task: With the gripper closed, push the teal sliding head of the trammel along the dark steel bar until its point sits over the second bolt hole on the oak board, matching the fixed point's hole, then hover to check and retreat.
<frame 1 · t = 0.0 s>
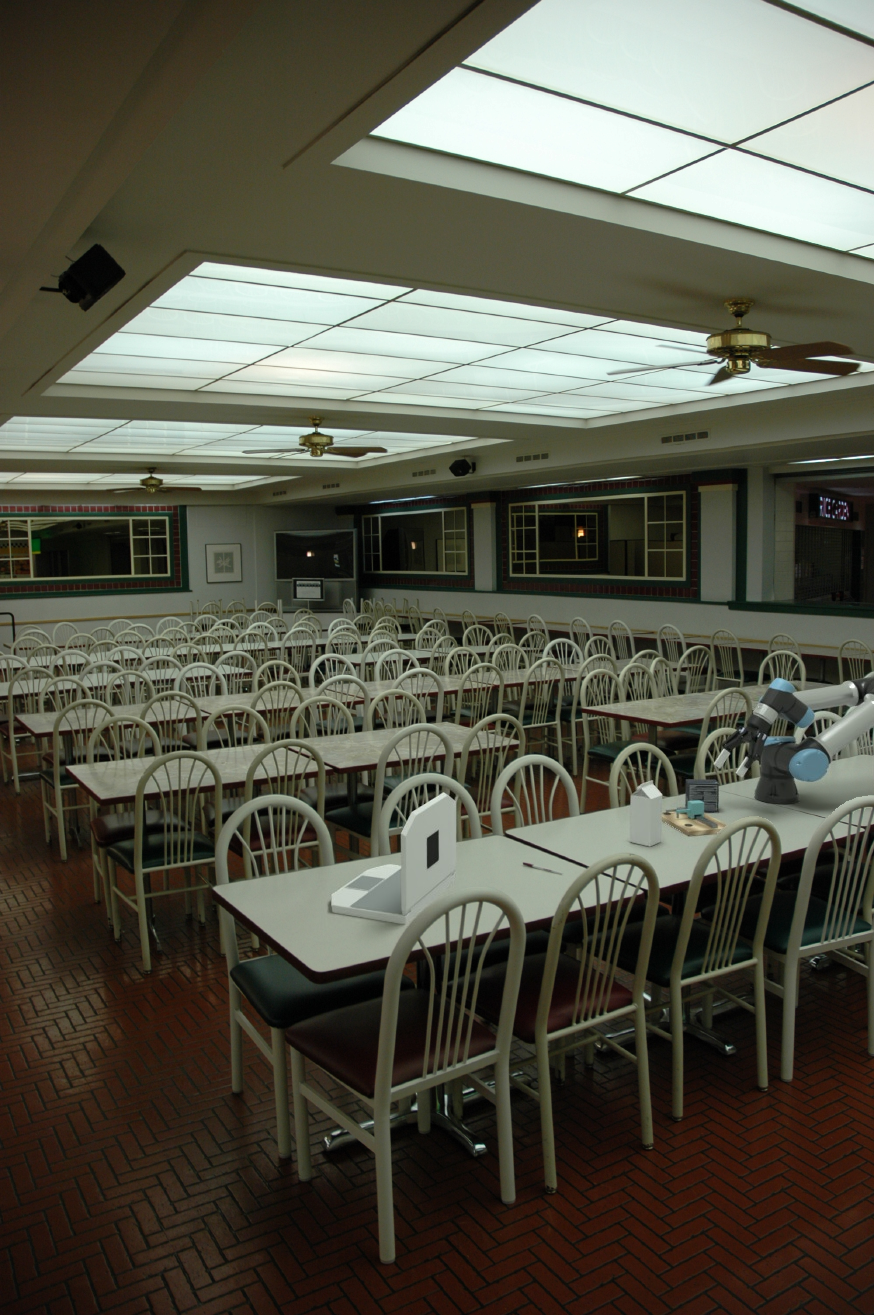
hand: (727, 770, 316), 15 cm above the table, tool tilted 35°, fingers open, 13 cm apart
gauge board: (693, 824, 306), on the table
small box: (701, 810, 324), on the table
sliding head: (689, 810, 308), point 4 cm above the table, slide at 0.0 cm
milk carton: (645, 842, 288), on the table
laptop: (391, 896, 244), on the table
beam: (691, 818, 306), on the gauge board, point 2 cm above the table
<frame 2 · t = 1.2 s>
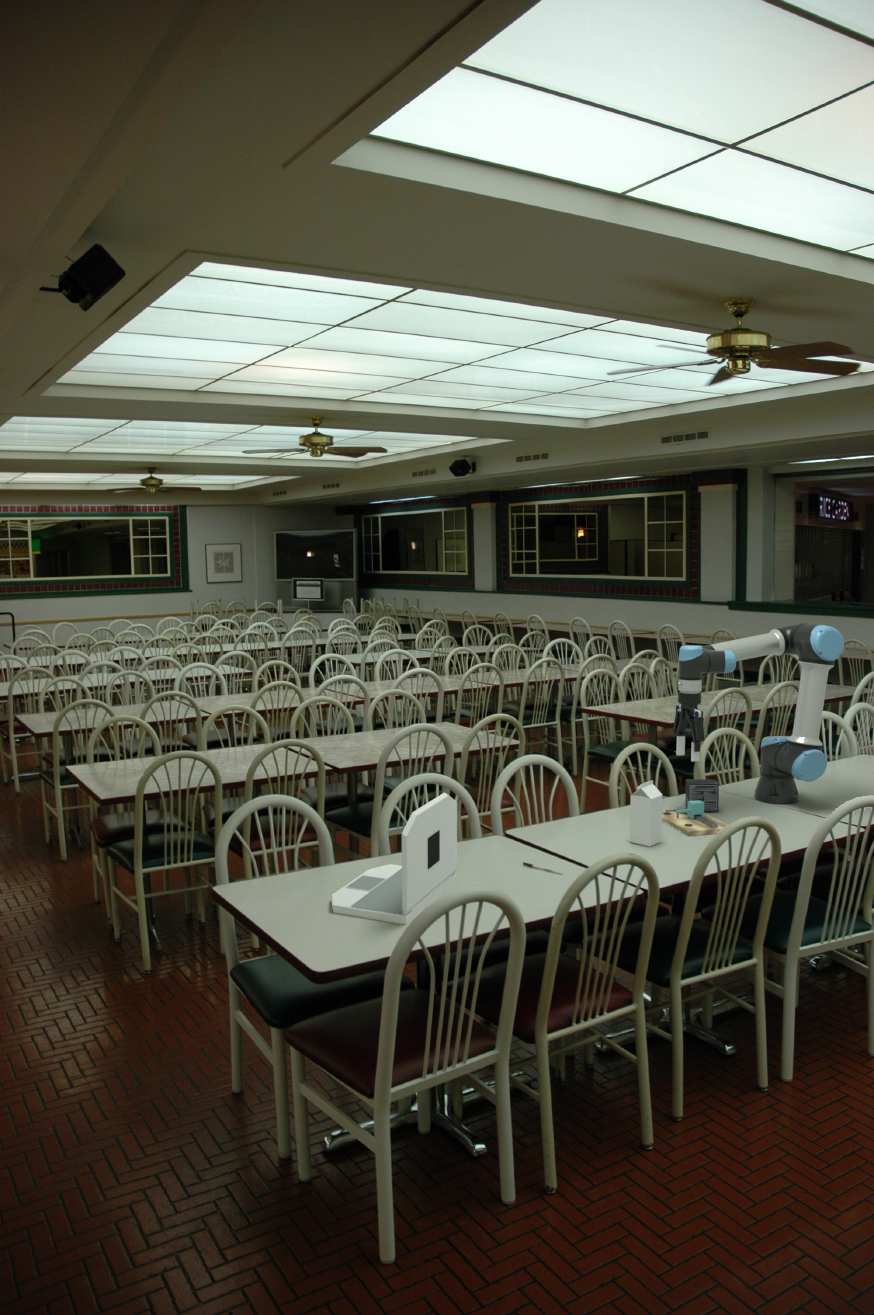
hand: (687, 758, 312), 21 cm above the table, tool pointing down, fingers open, 9 cm apart
nothing on the table moved.
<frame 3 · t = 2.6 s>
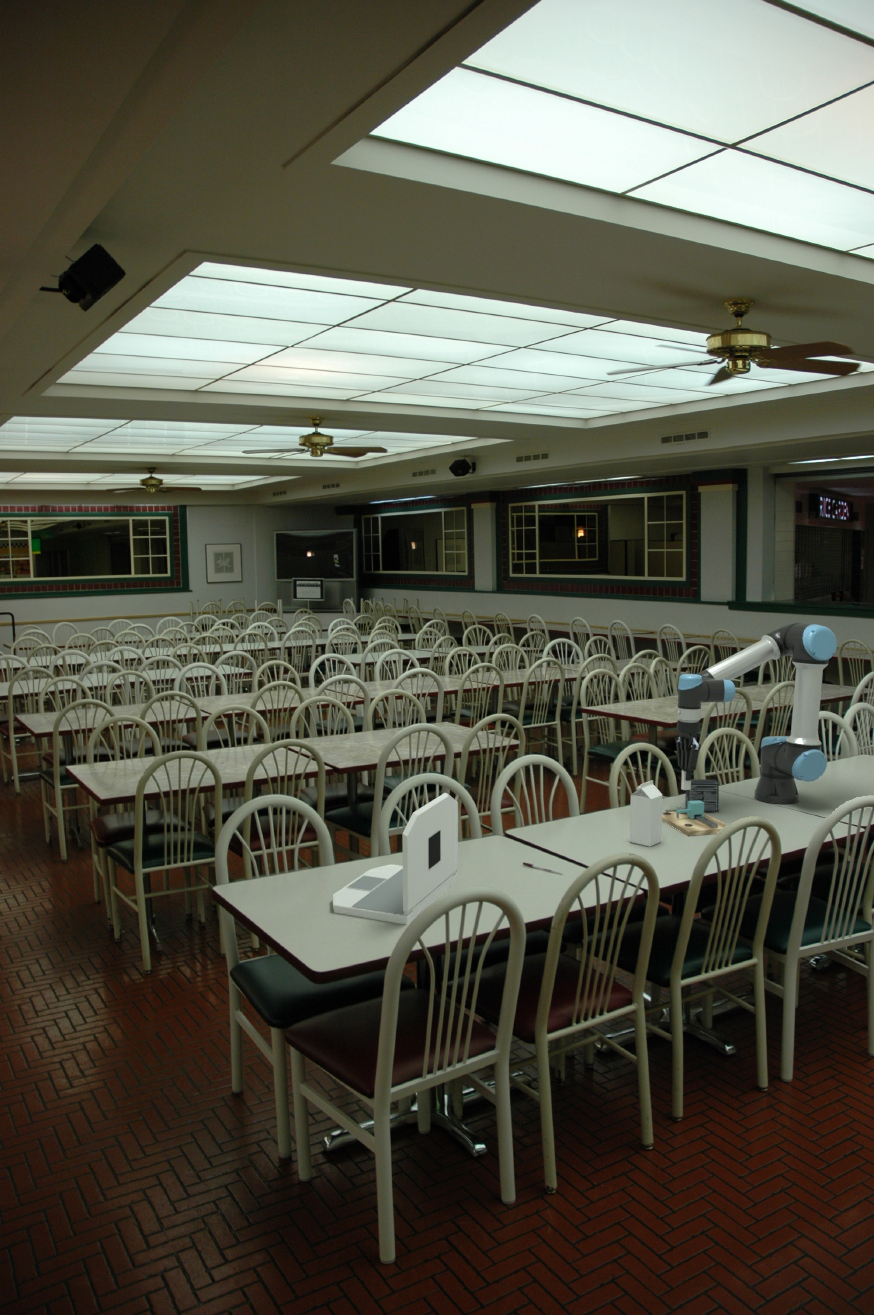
hand: (685, 789, 313), 10 cm above the table, tool pointing down, fingers closed
nothing on the table moved.
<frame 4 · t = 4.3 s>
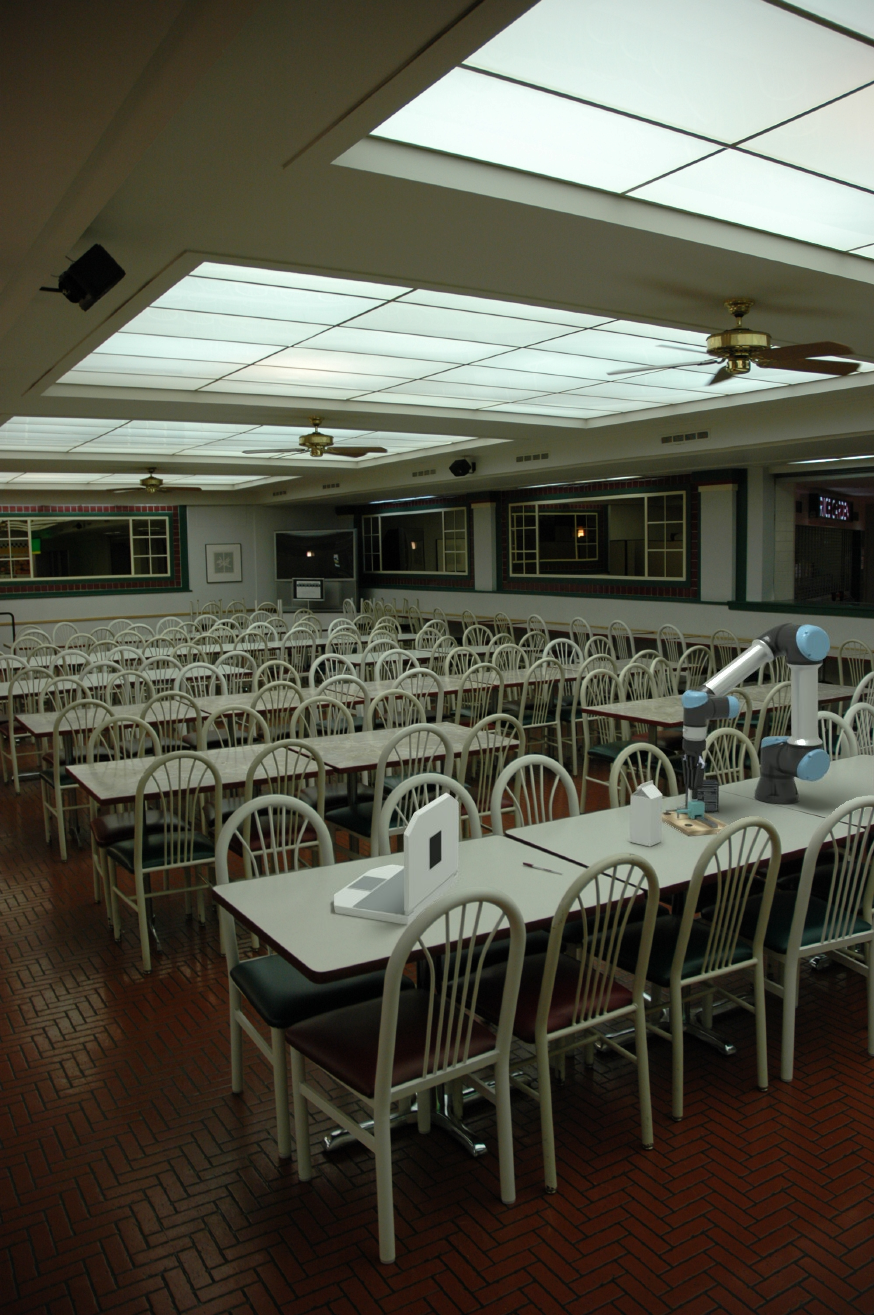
hand: (692, 807, 310), 4 cm above the table, tool pointing down, fingers closed
sliding head: (689, 810, 307), point 4 cm above the table, slide at 0.3 cm, touching gripper
everything else where it was.
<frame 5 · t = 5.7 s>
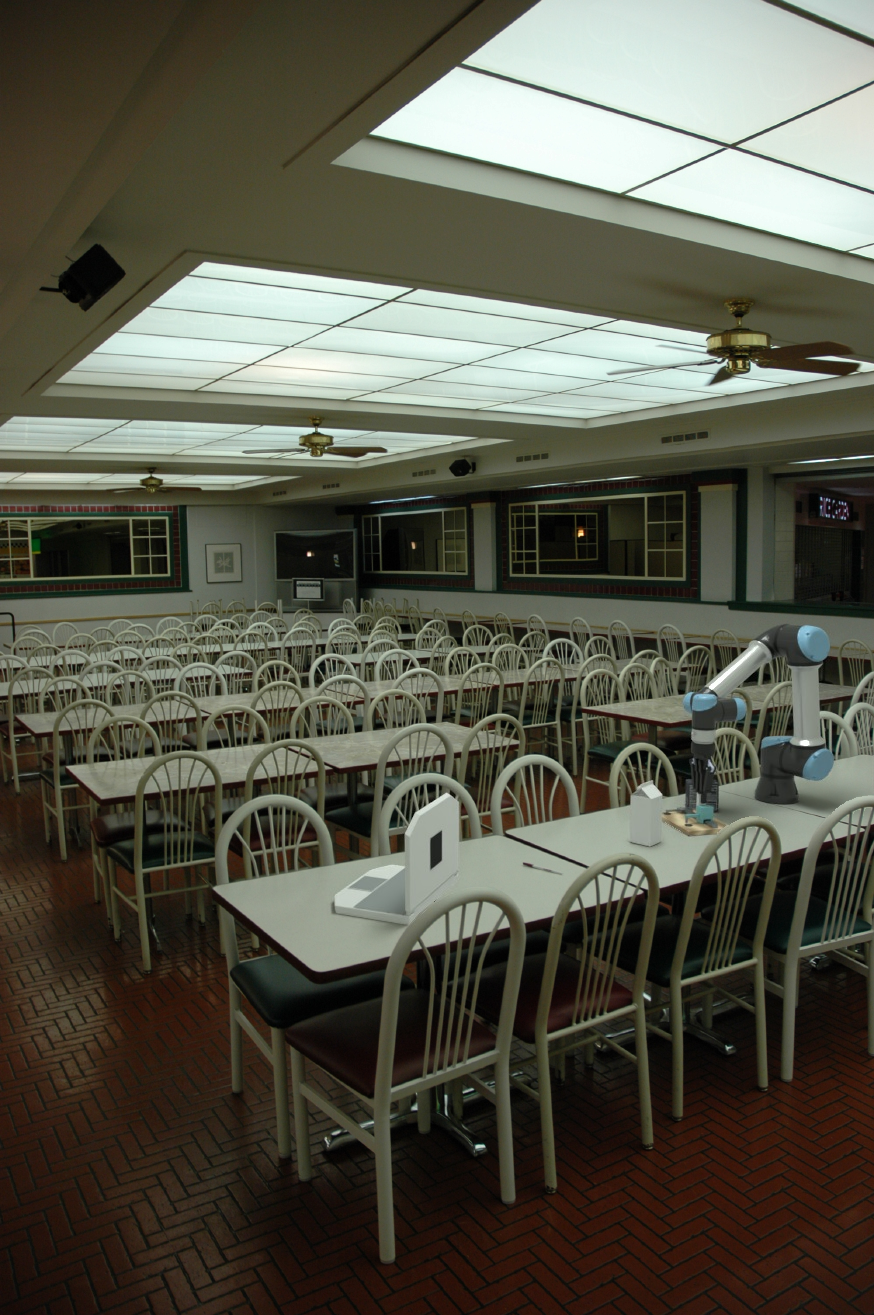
hand: (701, 812, 305), 4 cm above the table, tool pointing down, fingers closed
sliding head: (698, 814, 302), point 4 cm above the table, slide at 5.7 cm, touching gripper
everything else where it was.
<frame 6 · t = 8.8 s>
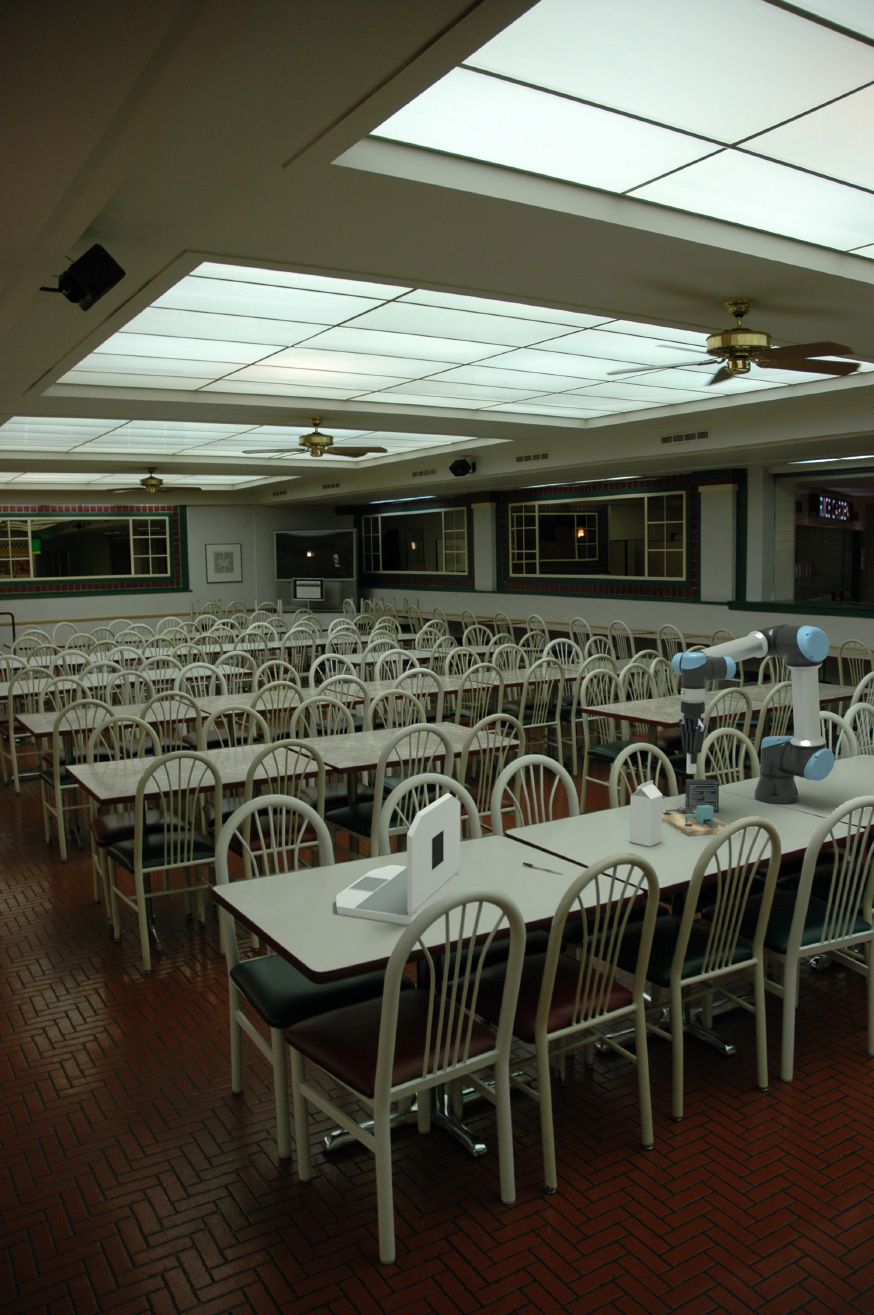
hand: (691, 772, 300), 18 cm above the table, tool pointing down, fingers closed
sliding head: (698, 814, 302), point 4 cm above the table, slide at 5.7 cm
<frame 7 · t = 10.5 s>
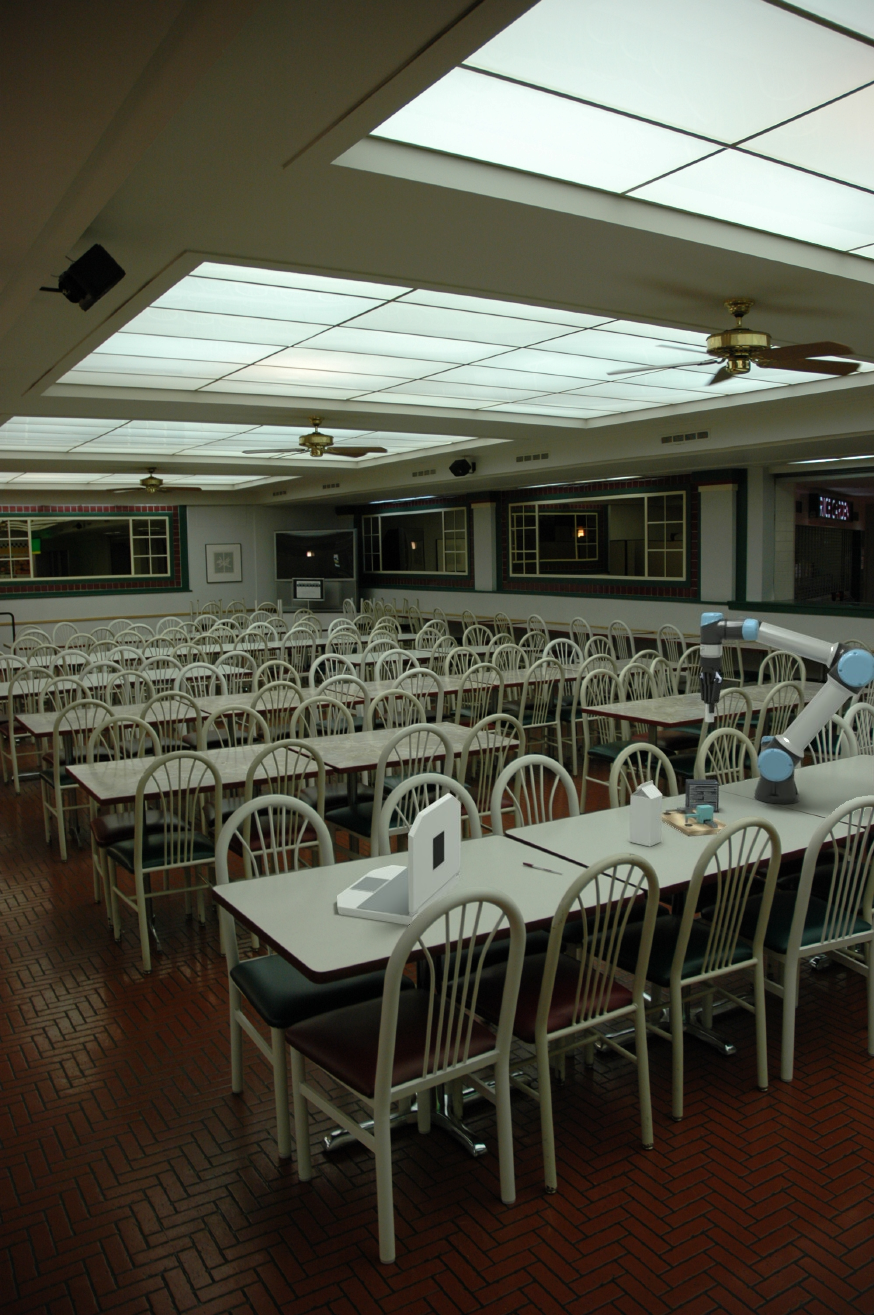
hand: (709, 721, 332), 29 cm above the table, tool pointing down, fingers closed
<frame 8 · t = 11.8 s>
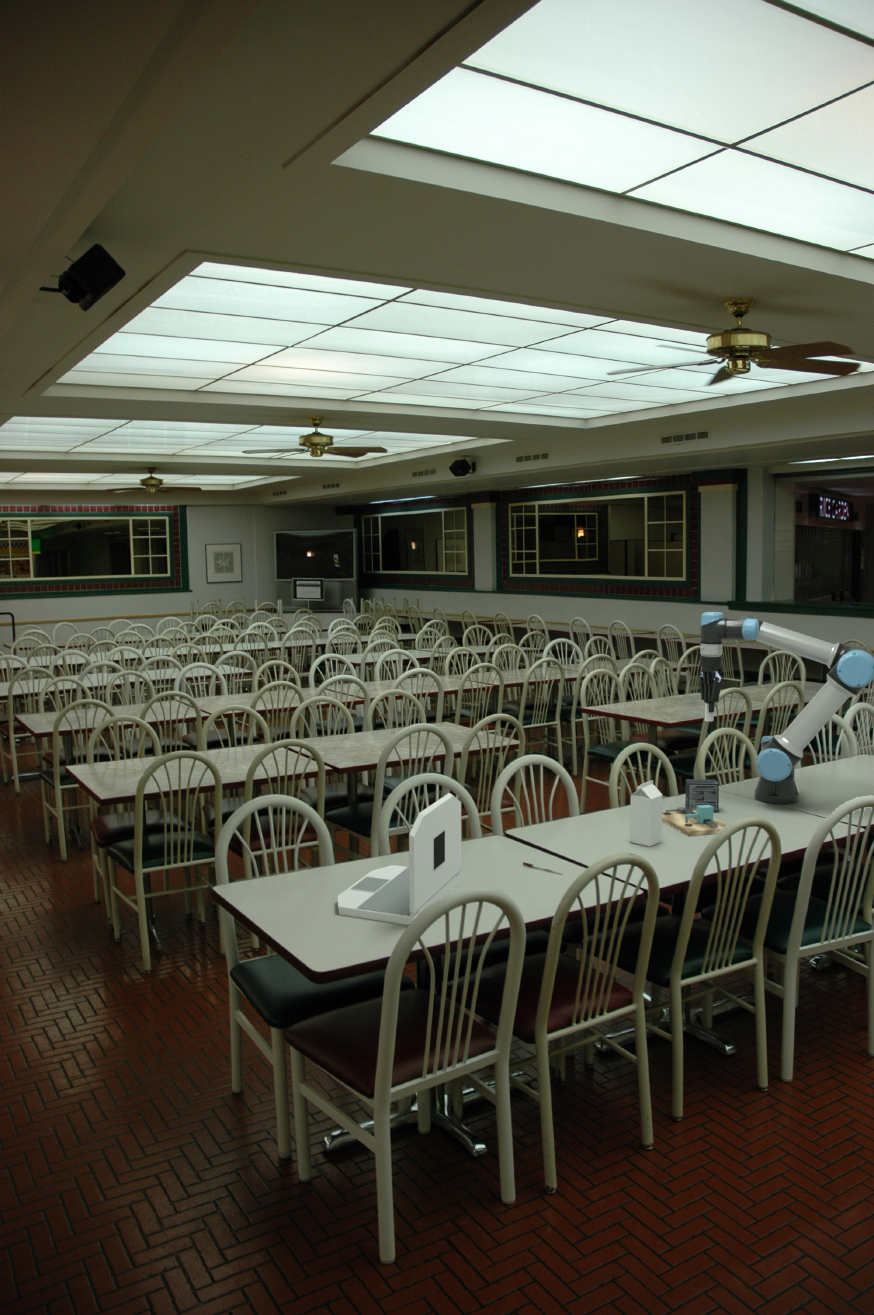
hand: (709, 720, 332), 29 cm above the table, tool pointing down, fingers closed
at the end: sliding head slide at 5.7 cm; sliding head touching nothing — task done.
